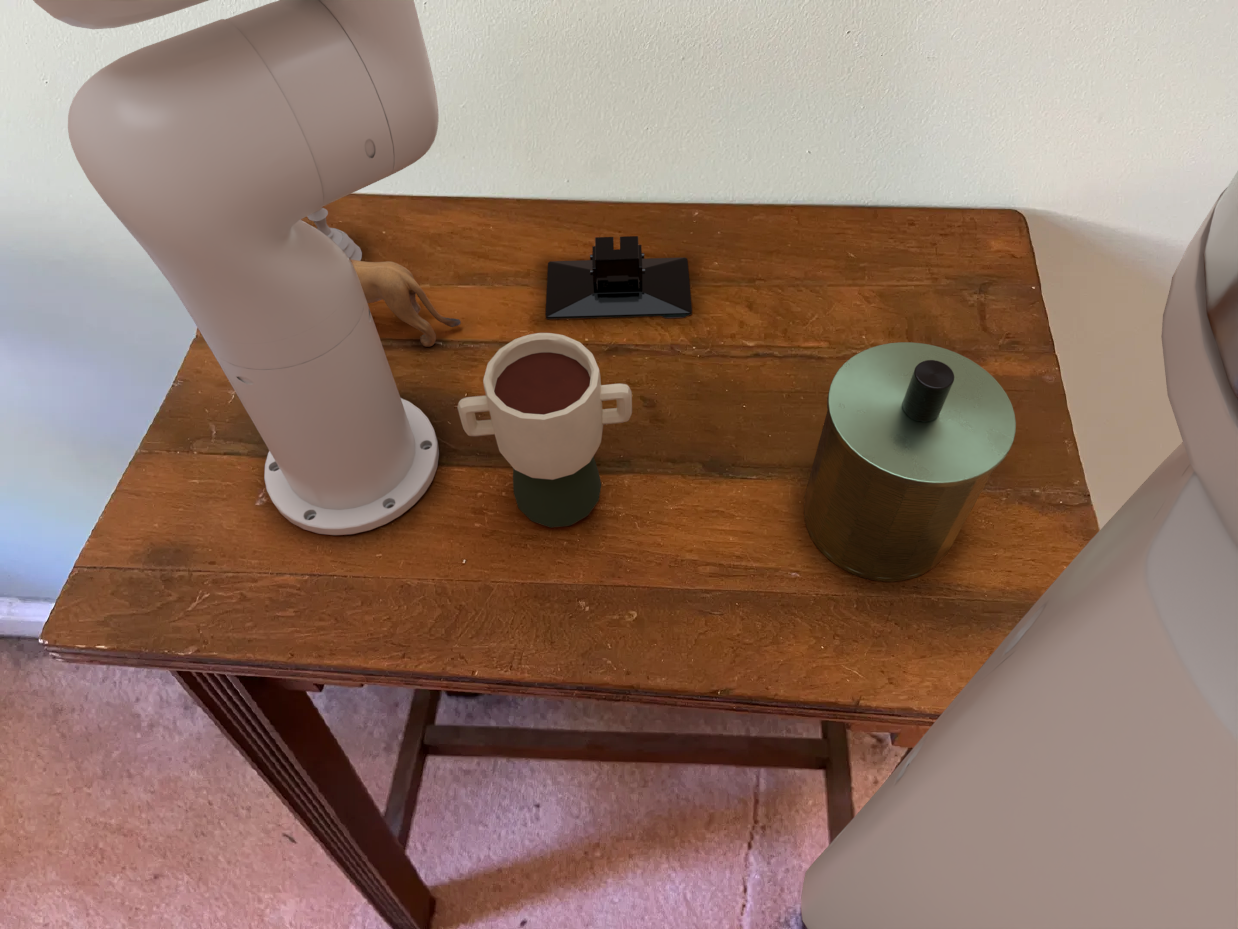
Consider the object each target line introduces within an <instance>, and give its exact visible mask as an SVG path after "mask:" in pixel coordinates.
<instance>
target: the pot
mask: <svg viewBox="0 0 1238 929" xmlns="http://www.w3.org/2000/svg"><path fill="white" fill-rule="evenodd" d="M993 472H994V470H992V471H991V472H990V473H988V474H987V475H985V476H983V477H981V478H979V479H977V480H975V481H972V482H969V483H966V484H962V485H957V486H951V487H923V486H915V485H911V484H906V483H902V482H899V481H896V480H893V479H890V478H888V477H886V476H883V475H881V474H879V473H877V472H875V471H873V470H872V469H870V468H868V467H867V466H865V465H864V464H863V463H861V462H860V461H858V460H857V459H856V458H855V457H854V456H853V455H852V454H851V453H849V452H848V450H847V449H846V448H845V447H844V446H843V445H842V443H841V442H840V440H839V439H838V437H837V436H836V434H835V432H834V430H833V428H832V426H831V423H830V420H829V417H828V410H827V409H826V413H825V418H824V422H823V426H822V429H821V433H820V437H819V441H818V444H817V448H816V451H815V455H814V460H813V463H812V467H811V470H810V474H809V478H808V482H807V486H806V490H805V493H804V498H803V499H804V503H803V518H804V523H805V526H806V530H807V533H808V534H809V537H810V538H811V540H812V542H813V544H814V545H815V546H816V548H817V550H819V552H820V553H821V554H823V555H824V557H826V558H827V559H828V560H829V561H830V562H832V563H833V565H836V567H838V568H840V569H842V570H844V571H845V572H847V573H849V574H851V575H855V576H856V577H860V578H862V579H866V580H872V581H875V582H876V581H877V582H887V583H888V582H903V581H907V580H912V579H914V578H917V577H921V576H922V575H924V574H926V573H928V572H929V571H931V570H932V569H934V568H935V567H936V566H937V565H938V564H939V563H940V562H941V561H942V560H943V558H944V557H945V556H946V555H947V554H948V553H949V551H950V550H951V548H952V546H953V544H954V542H955V541H956V538H957V537H958V535H959V533H960V531H961V530H962V528H963V526H964V525H965V522H966V521H967V519H968V518H969V515H970V514H971V512H972V510H973V508H974V506H975V504H976V503H977V502H978V500H979V498H980V495H981V494H982V492H983V490H984V488H985V486H986V485H987V483H988V481H989V479H990V478H991V476H992V474H993Z"/></svg>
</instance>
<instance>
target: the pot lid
mask: <svg viewBox="0 0 1238 929" xmlns="http://www.w3.org/2000/svg"><path fill="white" fill-rule="evenodd" d="M827 410H828V417H829V420H830V423H831V426H832V428H833V430H834V432H835V434H836V436H837V437H838V439H839V440H840V442H841V443H842V445H843V446H844V447H845V448H846V449H847V450H848V452H849V453H851V454H852V455H853V456H854V457H855V458H856V459H857V460H858V461H860V462H861V463H863V464H864V465H865V466H867V467H868V468H870V469H872V470H873V471H875V472H877V473H879V474H881V475H883V476H886V477H888V478H890V479H893V480H896V481H899V482H902V483H906V484H911V485H915V486H923V487H951V486H957V485H962V484H966V483H969V482H972V481H975V480H977V479H979V478H981V477H983V476H985V475H987V474H988V473H990V472H991V471H992V470H993V471H994V470H995V469H996V468H998V467H999V465H1001V464H1002V462H1004V460H1005V458H1006V457H1007V455H1008V454H1009V452H1010V450H1011V448H1012V446H1013V443H1014V440H1015V438H1016V437H1015V436H1016V433H1017V432H1016V431H1017V429H1016V428H1017V420H1016V413H1015V409H1014V407H1013V404H1012V402H1011V400H1010V398H1009V396H1008V394H1007V392H1006V391H1005V389H1004V388H1003V386H1002V385H1001V384H1000V383H999V382H998V381H997V380H996V378H995V377H994V376H993V375H992V374H991V373H990V372H988V371H987V370H986V369H984V368H983V366H981V365H980V364H978V363H976V362H974V361H973V360H972V359H969V358H968V357H966V356H964V355H962V354H961V353H958V352H956V351H953V350H950V349H947V348H944V347H941V346H938V345H933V344H927V343H921V342H913V341H912V342H908V341H907V342H905V341H904V342H901V341H899V342H890V343H883V344H878V345H875V346H871V347H868V348H866V349H864V350H862V351H860V352H858V353H856V354H855V355H853V356H852V357H850V358H849V359H848V360H847V361H846V362H844V363H843V364H842V365H841V367H839V368H838V370H837V371H836V373H835V374H834V375H833V378H832V380H831V383H830V385H829V389H828V393H827V400H826V411H827Z"/></svg>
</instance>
